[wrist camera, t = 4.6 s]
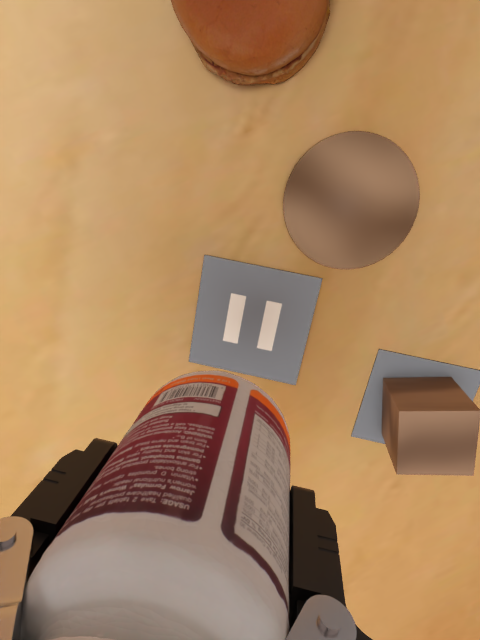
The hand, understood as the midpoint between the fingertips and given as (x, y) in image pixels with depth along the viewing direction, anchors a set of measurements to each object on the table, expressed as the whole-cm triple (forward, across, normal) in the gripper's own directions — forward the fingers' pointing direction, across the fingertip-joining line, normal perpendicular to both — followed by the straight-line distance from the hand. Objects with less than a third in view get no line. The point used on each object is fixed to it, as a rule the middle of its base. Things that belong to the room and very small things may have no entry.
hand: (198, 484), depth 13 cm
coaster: (+18, -5, -10) cm, 21 cm away
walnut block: (+18, -14, +4) cm, 23 cm away
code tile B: (+18, -14, +4) cm, 23 cm away
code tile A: (+18, 0, 0) cm, 18 cm away
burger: (+19, +4, -20) cm, 28 cm away
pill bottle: (+3, 0, 0) cm, 3 cm away
